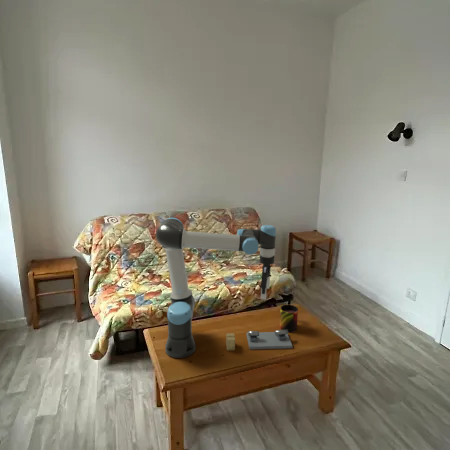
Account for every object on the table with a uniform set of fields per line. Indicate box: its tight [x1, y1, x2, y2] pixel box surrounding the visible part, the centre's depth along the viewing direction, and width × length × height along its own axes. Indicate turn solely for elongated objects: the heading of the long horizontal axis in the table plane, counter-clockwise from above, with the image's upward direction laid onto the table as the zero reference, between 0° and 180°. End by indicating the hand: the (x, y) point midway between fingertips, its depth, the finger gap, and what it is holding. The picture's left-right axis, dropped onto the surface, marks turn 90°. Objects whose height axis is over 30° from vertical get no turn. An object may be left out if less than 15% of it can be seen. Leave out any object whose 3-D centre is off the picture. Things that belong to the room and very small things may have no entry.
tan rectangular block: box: [225, 332, 236, 351], centre depth 176 cm, size 6×4×6 cm
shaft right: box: [274, 329, 289, 341], centre depth 182 cm, size 7×4×5 cm
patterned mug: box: [279, 303, 299, 334], centre depth 195 cm, size 10×14×12 cm
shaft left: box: [247, 330, 259, 342], centre depth 180 cm, size 6×4×5 cm
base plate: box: [246, 331, 293, 350], centre depth 181 cm, size 22×13×2 cm, turn 93°
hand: (265, 293), depth 181 cm, fingers open, 13 cm apart
